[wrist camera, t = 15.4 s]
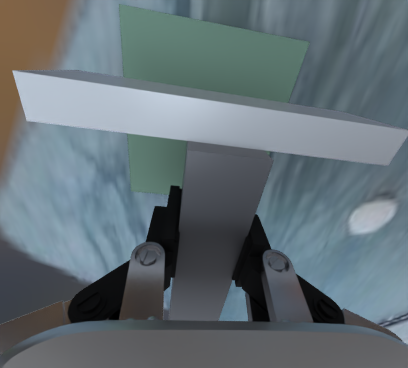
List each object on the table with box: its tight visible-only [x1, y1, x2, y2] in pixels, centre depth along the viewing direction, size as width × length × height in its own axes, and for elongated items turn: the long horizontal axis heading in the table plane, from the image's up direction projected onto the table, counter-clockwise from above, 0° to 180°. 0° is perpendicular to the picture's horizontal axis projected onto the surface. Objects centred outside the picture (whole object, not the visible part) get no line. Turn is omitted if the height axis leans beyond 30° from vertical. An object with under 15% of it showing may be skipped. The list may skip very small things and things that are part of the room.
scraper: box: [13, 70, 408, 321], centre depth 11 cm, size 14×14×5 cm
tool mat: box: [119, 4, 310, 195], centre depth 21 cm, size 16×18×1 cm
